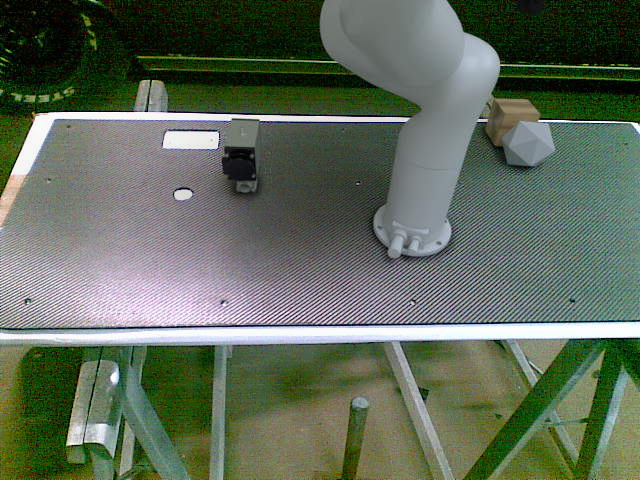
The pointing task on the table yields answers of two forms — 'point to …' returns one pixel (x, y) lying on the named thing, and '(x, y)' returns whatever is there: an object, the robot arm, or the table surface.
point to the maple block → (508, 117)
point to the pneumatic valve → (242, 153)
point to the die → (528, 143)
